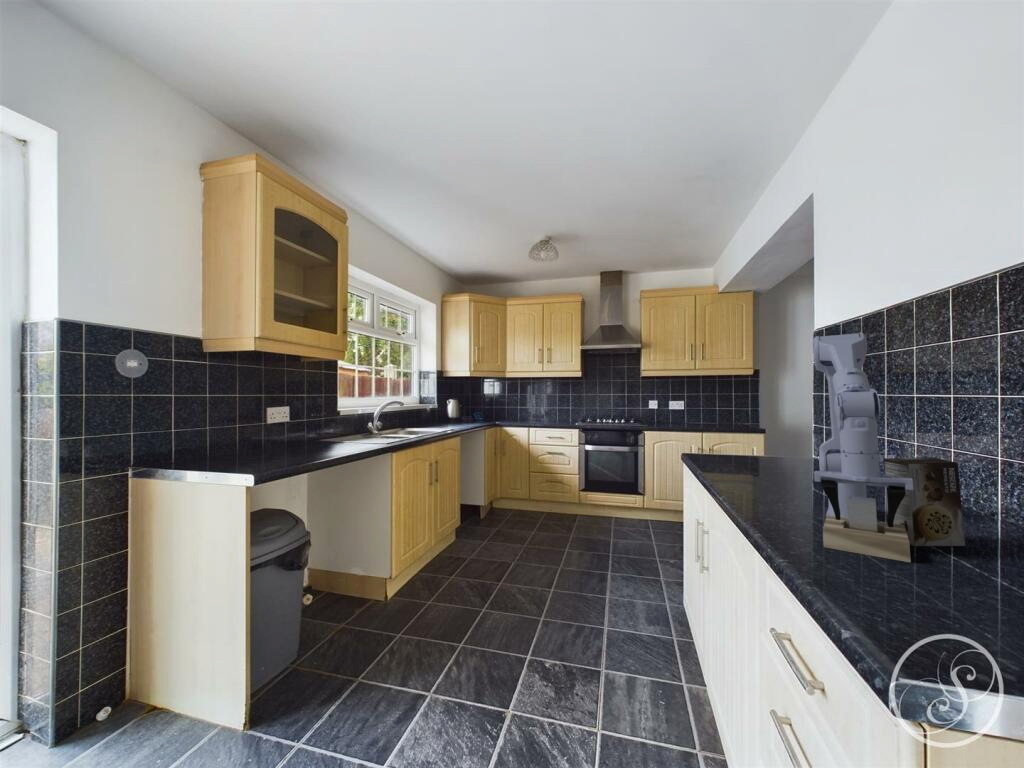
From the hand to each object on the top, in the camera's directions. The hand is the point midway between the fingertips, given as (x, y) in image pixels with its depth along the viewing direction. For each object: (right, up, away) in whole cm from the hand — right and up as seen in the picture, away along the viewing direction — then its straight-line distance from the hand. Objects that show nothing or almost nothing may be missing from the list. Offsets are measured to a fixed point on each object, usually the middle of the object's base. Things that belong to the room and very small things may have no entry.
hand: (863, 522), depth 79 cm
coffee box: (+13, -4, +1) cm, 14 cm away
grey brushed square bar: (0, -4, 0) cm, 4 cm away
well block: (0, -4, 0) cm, 4 cm away
